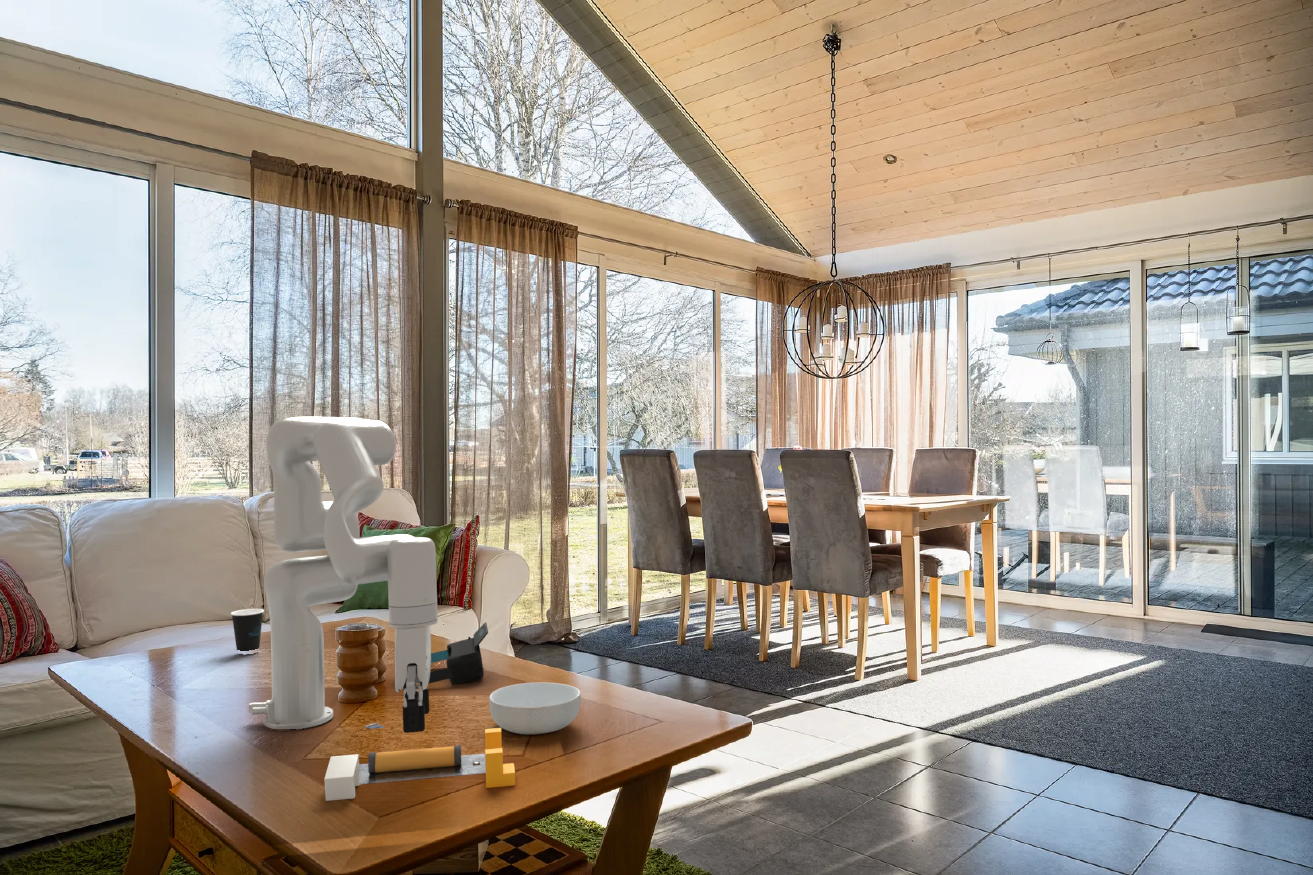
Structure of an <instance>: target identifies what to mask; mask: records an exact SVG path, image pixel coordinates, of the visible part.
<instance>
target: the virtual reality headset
mask: <svg viewBox="0 0 1313 875" xmlns="http://www.w3.org/2000/svg"><path fill="white" fill-rule="evenodd" d="M488 634H489V630H488V624H487V622H486V621H485V622H484V623H483V624H482V625H481V626H480V627H479V628H478V629H476V631H475V632H474V633H473V637H471V636H468V637H467V638H466V639H461V640H459V641H455V642H451V643H449V644H447V645H446V649H444V650H441V651H435V652H431V664H433V663H437V662H441V661H446V662H445V663H446V667H445V668H441V669H436V670H434V671H433V670H432V671H430V679H429V683H428V685H429V684H433V683H434V684H435V683H437V682H442V681H447V680H449V681H450V683H451V685H459V684H463V683H469V682H474V681H477V680H482V679H483V678H484V676H485V673H484V666H483V665H484V664H483V658H482V653H481V647H480V644H481V643H482V641H484V639H485V637H486V636H487V635H488Z"/></svg>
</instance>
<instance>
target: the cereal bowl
mask: <svg viewBox="0 0 1313 875" xmlns="http://www.w3.org/2000/svg"><path fill="white" fill-rule="evenodd" d="M581 698H582V696H581V691H580V689H579V688H578V687H575V686H573V685H570V684H564V683H558V682H546V681H544V682H543V681H542V682H540V681H539V682H524V683H523V682H522V683H516V684H511V685H507V686H503V687H500V688H498V689H496V690H494V691H492V692H491V693H490V695H489V699H488V700H489V704H488V705H489V712H490V716H491V718H492V720H493V721H494V723H496V725H497V726H498V727H499V728H501V729H503V730H505V731H508V732H509V733H510V732H511V733H514V734H519V735H541V734H548V733H549V734H550V733H553V732H556V731H560V730H562V729H564V728H566V727H568V726H569V725H571V724H572V723H573V722H574V720H575V719H576V718H577V716H578V714H579V711H580V708H581Z"/></svg>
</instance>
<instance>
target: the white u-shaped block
mask: <svg viewBox="0 0 1313 875" xmlns="http://www.w3.org/2000/svg"><path fill="white" fill-rule="evenodd" d="M359 755H360V754H357V753H356V754H344V755H335V756H334V755H333V756H330V759H329V762H328V766H327V769H326V773H325V776H324V779H323V781H324V797H325V802H328V801H338V800H347V799H348V800H352V799H355V797H356V787H358V786H360V785H361V784H360V771H359V764H360V756H359Z"/></svg>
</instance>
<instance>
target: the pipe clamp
mask: <svg viewBox="0 0 1313 875" xmlns="http://www.w3.org/2000/svg"><path fill="white" fill-rule="evenodd" d="M502 738H503V737H502V728H501V727H494V728H485V729H484V740H485V741H484V742H485V744H484V745H485V750H484V752H485V753H484V754H485V765H486V773H485V788H486V789H489V788H491V789H492V788H498V787H499V788H501V787H509V786H516V770H515V769H516V768H515V764H514V762H509V763H504V756H503V755H504V752H503V746H502V745H503V742H502Z"/></svg>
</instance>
